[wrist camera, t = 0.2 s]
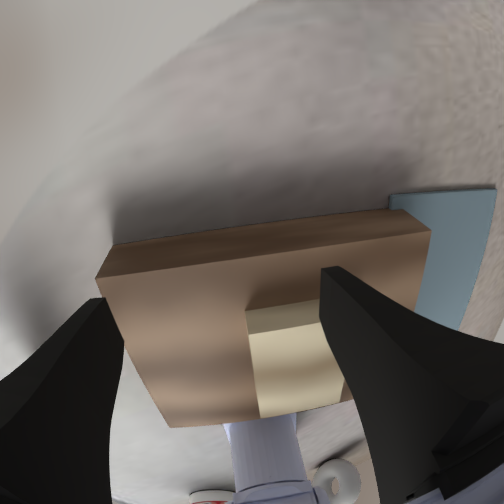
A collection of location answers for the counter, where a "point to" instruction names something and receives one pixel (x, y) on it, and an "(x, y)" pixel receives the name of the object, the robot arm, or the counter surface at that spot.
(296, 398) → the wooden tile
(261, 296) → the board
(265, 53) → the counter surface
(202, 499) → the fruit juice
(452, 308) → the slate mat
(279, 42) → the counter surface
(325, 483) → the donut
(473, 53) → the counter surface
